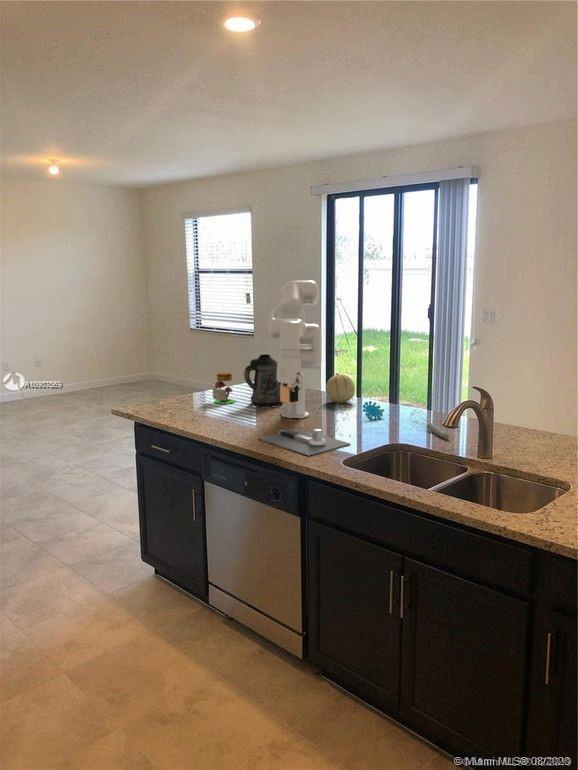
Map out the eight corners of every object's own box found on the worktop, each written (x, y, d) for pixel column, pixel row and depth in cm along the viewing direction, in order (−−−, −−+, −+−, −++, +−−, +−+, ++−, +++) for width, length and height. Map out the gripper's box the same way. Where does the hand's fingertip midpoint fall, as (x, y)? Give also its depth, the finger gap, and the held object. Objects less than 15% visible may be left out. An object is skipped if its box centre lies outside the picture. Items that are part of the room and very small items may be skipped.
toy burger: (222, 398, 314) (221, 370, 311) (240, 401, 307) (240, 372, 304) (206, 402, 305) (206, 373, 302) (225, 405, 298) (224, 376, 295)
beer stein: (289, 403, 303) (289, 354, 298) (268, 410, 287) (267, 359, 282) (263, 399, 312) (262, 351, 307) (240, 406, 296) (239, 356, 291)
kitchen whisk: (442, 442, 235) (442, 426, 234) (405, 421, 268) (406, 408, 266) (456, 441, 237) (456, 425, 236) (418, 421, 269) (418, 407, 268)
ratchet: (275, 435, 243) (275, 420, 241) (287, 432, 247) (287, 418, 246) (317, 448, 225) (317, 433, 223) (329, 445, 229) (329, 430, 228)
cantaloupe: (346, 407, 293) (347, 377, 290) (320, 404, 301) (320, 374, 298) (359, 401, 306) (360, 372, 303) (334, 398, 313) (334, 370, 310)
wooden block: (280, 401, 230) (280, 386, 229) (290, 399, 233) (290, 384, 232) (288, 403, 226) (288, 388, 225) (298, 401, 229) (298, 386, 228)
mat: (257, 439, 239) (257, 437, 239) (298, 429, 253) (298, 428, 253) (308, 456, 217) (308, 455, 217) (350, 444, 231) (350, 443, 231)
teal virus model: (366, 418, 265) (361, 399, 271) (361, 425, 270) (355, 406, 275) (388, 419, 270) (382, 400, 275) (382, 426, 274) (376, 407, 279)
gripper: (267, 352, 230) (268, 398, 234) (296, 357, 217) (296, 405, 221) (283, 350, 235) (283, 395, 238) (312, 355, 222) (311, 402, 225)
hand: (289, 400), depth 229 cm, fingers closed on wooden block, 5 cm apart
